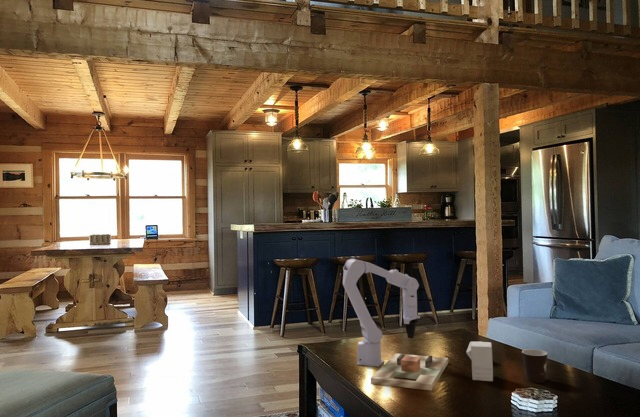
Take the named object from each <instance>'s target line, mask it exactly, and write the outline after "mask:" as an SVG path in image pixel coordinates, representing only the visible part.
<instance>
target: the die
mask: <svg viewBox="0 0 640 417" xmlns="http://www.w3.org/2000/svg"><path fill="white" fill-rule="evenodd" d="M477 342H483V341H477ZM471 344H472V341H470V342H469V344H468V347H467V349H466V353H465V354H466V355H467V356H468V357H469V359H470V360H471V361H472V355H471Z"/></svg>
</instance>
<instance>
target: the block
mask: <svg viewBox="0 0 640 417" xmlns="http://www.w3.org/2000/svg"><path fill="white" fill-rule="evenodd" d="M419 369H420V357H410V356H404V357H403V359H402V360H401V371H409V372H418V370H419Z"/></svg>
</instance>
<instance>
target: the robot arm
mask: <svg viewBox="0 0 640 417" xmlns="http://www.w3.org/2000/svg"><path fill="white" fill-rule="evenodd" d="M342 271H343V274H342V275H343V276H342V286H343V288H344V290H345V292H346V294H347V297H348V298H349V300H350V303H351V306H352V307H353V309H354V312H355V314H356V315H357V316H356V317H357V318H358V320H359V325H360V327H361V335H362V337H364V338H363V340H360V341H358V342H357V352H356V354H357V355H356V356H357V363H356V365H359V366H370V367H380V366H381V365H382V364H383V363H384V362H385V360H383V359H382V349H381V348H382V342H381V341H382V339H383V332H382V330H381V329H380V328H379V327H378V326H377V324H376V323H375V321H374V319H373V318H372V315H371V314H370V312H369V310H368V308H367V305H366V303H365V301H364V299H363V296H362V295H361V292H360V290H359V289H358V286H357V283H358V281H359V279H360V278H361V277H362V275H364V274H368V273H372V274H375V275H376V276H377V275H378V276H380V277H382V278H385V280H386V282H387V283H388V284H391V285H393V286H396V287H398V288H402V299H403V300H402V301H403V302H402V304H403V305H402V308H403V310H402V311H403V315H402V318H403V321H402V325H403V326H404V328H405V330H406V335H407V337H408V339H414V338H415V334H416V327H417V325H418V323H419V320H418V319H421V316H420V315H418V294H417V290H418V289H419V287H420V283H419V282H418V280H417V279H416V278H415V277H411V276H409V274H407V273H405V274H404V273H402V272H399V270H398V269H396V268H395V269H390V270H387V269H385V268H383V267H380V266H378V265H376V264H373V263H371V262H367V261H363V260H360V259H356V258H349V259H347V260H346V261H345V263H344V266H343V267H342Z"/></svg>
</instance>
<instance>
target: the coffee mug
mask: <svg viewBox="0 0 640 417" xmlns="http://www.w3.org/2000/svg"><path fill="white" fill-rule="evenodd" d="M521 355H522V363H523V368H524V375H525V376H524V377H525V380H526V381H527V382H530V383H536V384H542V383H545V381H546V373H547V362H548V351H545V350H540V349H531V348H530V349H529V348H528V349H527V348H526V349H523V350H521Z"/></svg>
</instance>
